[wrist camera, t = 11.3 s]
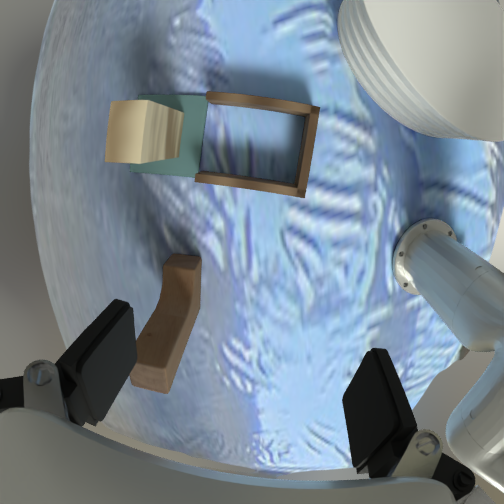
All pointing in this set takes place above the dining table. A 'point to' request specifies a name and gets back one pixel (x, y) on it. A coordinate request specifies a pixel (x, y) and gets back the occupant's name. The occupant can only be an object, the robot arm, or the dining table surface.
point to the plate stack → (430, 63)
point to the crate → (305, 151)
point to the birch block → (142, 132)
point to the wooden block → (169, 325)
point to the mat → (190, 136)
